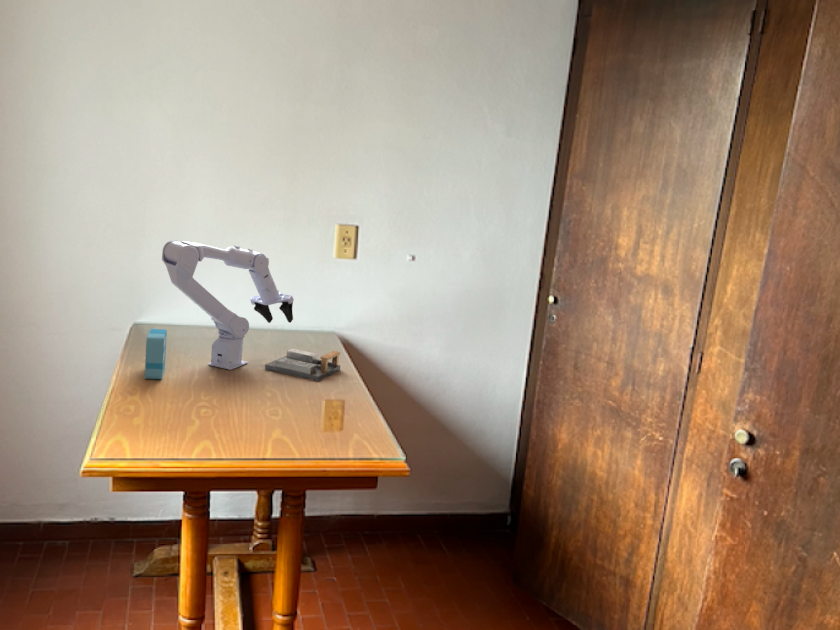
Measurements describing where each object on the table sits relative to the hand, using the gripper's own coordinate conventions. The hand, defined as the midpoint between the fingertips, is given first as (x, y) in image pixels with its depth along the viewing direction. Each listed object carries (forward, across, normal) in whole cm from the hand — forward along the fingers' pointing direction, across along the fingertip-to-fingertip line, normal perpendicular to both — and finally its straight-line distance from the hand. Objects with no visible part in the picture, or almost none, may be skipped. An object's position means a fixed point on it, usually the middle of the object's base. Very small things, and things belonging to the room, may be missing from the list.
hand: (280, 320), depth 249 cm
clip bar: (+9, -9, +9) cm, 16 cm away
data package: (-11, +18, +39) cm, 44 cm away
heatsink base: (+10, -10, +12) cm, 19 cm away
